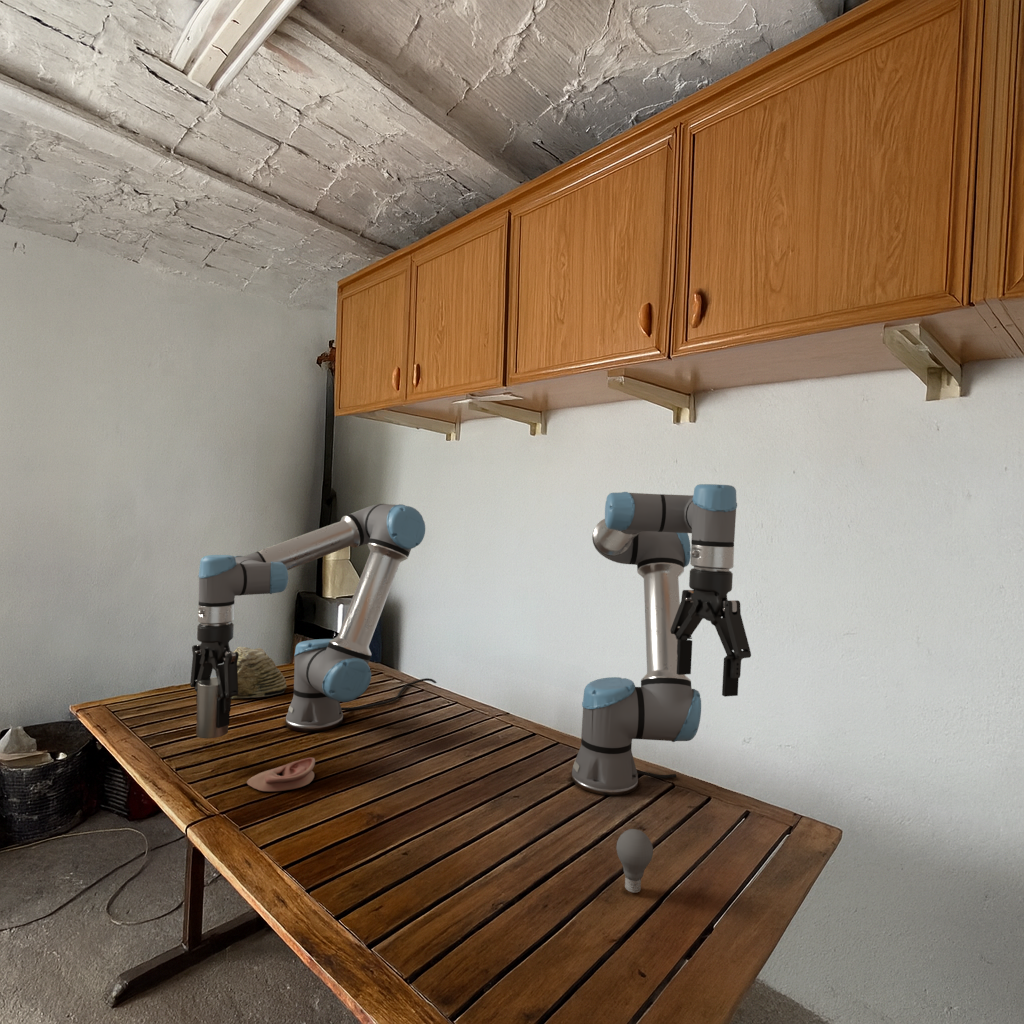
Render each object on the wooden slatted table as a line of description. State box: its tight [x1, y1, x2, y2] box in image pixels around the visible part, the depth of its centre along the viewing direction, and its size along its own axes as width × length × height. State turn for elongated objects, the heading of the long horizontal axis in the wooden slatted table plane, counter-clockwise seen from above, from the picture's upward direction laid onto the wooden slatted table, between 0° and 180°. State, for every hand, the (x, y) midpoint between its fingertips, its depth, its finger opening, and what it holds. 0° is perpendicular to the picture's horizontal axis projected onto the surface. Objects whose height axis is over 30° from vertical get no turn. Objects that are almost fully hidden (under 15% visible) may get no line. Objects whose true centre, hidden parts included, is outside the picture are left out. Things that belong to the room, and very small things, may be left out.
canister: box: [195, 677, 229, 740], centre depth 145 cm, size 7×7×12 cm
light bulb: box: [615, 828, 654, 894], centre depth 106 cm, size 6×6×10 cm
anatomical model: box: [246, 757, 316, 792], centre depth 140 cm, size 13×4×12 cm
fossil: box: [231, 646, 288, 699], centre depth 198 cm, size 9×18×15 cm, turn 132°
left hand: (212, 722), depth 145 cm, fingers closed on canister, 7 cm apart
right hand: (705, 684), depth 116 cm, fingers open, 13 cm apart
